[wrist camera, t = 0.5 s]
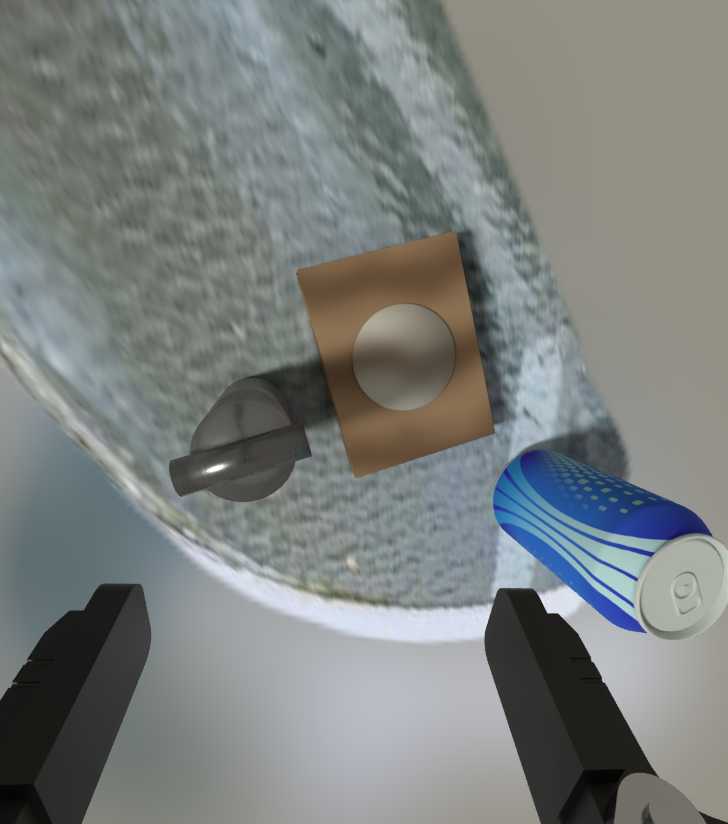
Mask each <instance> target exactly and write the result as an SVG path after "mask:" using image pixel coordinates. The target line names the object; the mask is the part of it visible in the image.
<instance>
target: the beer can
mask: <svg viewBox="0 0 728 824" xmlns="http://www.w3.org/2000/svg"><path fill="white" fill-rule="evenodd" d="M493 510H494V514H495V517H496V519H497V522H498V523H499V525H500V526H501V527H502V529H503V530H504V531H505V532H506V533H508V534H509V535H510V536H511V537H512V538H513V539H515V540H516V541H517V542H518V543H519V544H520V545H521V546H523V547H524V548H525V549H526V550H527V551H528V552H530V553H531V554H532V555H533V556H534V557H535V558H537V559H538V560H539V561H540V562H541V563H542V564H543V565H545V566H546V567H547V568H548V569H549V570H550V571H552V572H553V573H554V574H555V575H556V576H557V577H559V578H560V579H561V580H562V581H563V582H564V583H565V584H567V585H568V586H569V587H570V588H571V589H572V590H574V591H575V592H576V593H577V594H578V595H579V596H581V597H582V598H583V599H584V600H585V601H586V602H588V603H589V604H590V605H591V606H592V607H593V608H595V609H596V610H597V611H598V612H599V613H600V614H601V615H603V616H604V617H605V618H606V619H607V620H609V621H610V622H611V623H613V624H615V625H616V626H618V627H620V628H623V629H626V630H629V631H636V632H642V633H648V634H649V635H651V636H653V637H654V638H656V639H658V640H662V641H666V642H680V641H684V640H688V639H691V638H693V637H695V636H697V635H699V634H701V633H702V632H704V631H705V630H706V629H708V628H709V627H710V626H711V625H712V624H713V623H714V622H715V621H716V620H717V619H718V618H719V617H720V615H721V614H722V613H723V611H724V610H725V608H726V606H727V605H728V548H727V547H726V546H725V545H724V544H723V543H722V542H721V541H720V540H718V539H716V538H714V537H713V536H712V534H711V533H710V531H709V530H708V528H707V526H706V525H705V524H704V522H703V521H702V520H701V519H700V518H699V517H698V516H697V515H696V514H695V513H694V512H692V511H691V510H689V509H688V508H686V507H684V506H681V505H679V504H677V503H674V502H672V501H670V500H668V499H665V498H663V497H661V496H658V495H656V494H653V493H651V492H649V491H646V490H644V489H642V488H640V487H637V486H635V485H632V484H630V483H628V482H626V481H623V480H621V479H619V478H616V477H614V476H612V475H609V474H607V473H605V472H602V471H600V470H598V469H595V468H593V467H591V466H588V465H586V464H584V463H581V462H579V461H577V460H574V459H572V458H570V457H567V456H565V455H563V454H560V453H558V452H556V451H552V450H546V449H538V450H533V451H529V452H526V453H524V454H522V455H520V456H518V457H517V458H515V459H514V460H512V461H511V462H510V463H509V464H507V465H506V466H505V468H504V469H503V470H502V471H501V473H500V474H499V476H498V478H497V481H496V483H495V487H494V493H493Z"/></svg>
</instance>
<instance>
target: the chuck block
mask: <svg viewBox="0 0 728 824" xmlns="http://www.w3.org/2000/svg"><path fill="white" fill-rule="evenodd" d="M296 274H297V278H298V281H299V285H300V289H301V292H302V296H303V299H304V303H305V306H306V310H307V314H308V317H309V321H310V324H311V328H312V331H313V335H314V339H315V342H316V346H317V349H318V353H319V356H320V360H321V364H322V367H323V371H324V374H325V378H326V381H327V385H328V388H329V392H330V396H331V399H332V403H333V406H334V410H335V413H336V417H337V421H338V424H339V428H340V431H341V435H342V438H343V442H344V446H345V449H346V453H347V456H348V460H349V463H350V467H351V470H352V472H353V474H354V476H355V478H358V477H362V476H365V475H368V474H371V473H374V472H377V471H380V470H383V469H386V468H389V467H392V466H396V465H399V464H402V463H405V462H408V461H411V460H414V459H417V458H420V457H423V456H426V455H430V454H433V453H436V452H439V451H442V450H445V449H448V448H451V447H454V446H457V445H460V444H464V443H467V442H470V441H473V440H476V439H479V438H482V437H485V436H488V435H491V434H494V433H495V429H494V424H493V419H492V414H491V409H490V404H489V398H488V393H487V388H486V383H485V378H484V373H483V368H482V362H481V357H480V352H479V347H478V342H477V337H476V332H475V327H474V321H473V316H472V311H471V306H470V301H469V296H468V291H467V286H466V280H465V275H464V270H463V265H462V260H461V255H460V250H459V244H458V239H457V234H456V231H453V232H449V233H445V234H441V235H437V236H433V237H429V238H425V239H421V240H417V241H413V242H409V243H405V244H401V245H397V246H393V247H388V248H384V249H380V250H376V251H372V252H368V253H364V254H360V255H356V256H352V257H348V258H344V259H340V260H336V261H332V262H328V263H324V264H320V265H316V266H311V267H307V268H303V269H299V270H298V271H297V273H296Z"/></svg>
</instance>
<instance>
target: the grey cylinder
mask: <svg viewBox="0 0 728 824" xmlns="http://www.w3.org/2000/svg"><path fill="white" fill-rule="evenodd" d="M311 456H312V454H311V450H310V447H309V444H308V440H307V437H306V434H305V430H304V427H303V424H302V422H298V423H295V424H291V419H290V414H289V410H288V405H287V401H286V398H285V396H284V394H283V393H282V391H281V390H280V389H279V388H278V387H277V386H276V385H275V384H273V383H272V382H270V381H268V380H266V379H262V378H257V377H249V378H243V379H240V380H238V381H236V382H234V383H233V384H231V385H230V386H229V387H228V388H227V389H226V390H225V391H224V393H223V394H222V395H221V397H220V398H219V399H218V400H217V402H216V403H215V404H214V406H213V407H212V408H211V410H210V411H209V412H208V414H207V415H206V416H205V418H204V419H203V420H202V422H201V423H200V424H199V426H198V427H197V429H196V431H195V433H194V435H193V438H192V441H191V447H190V455H188V456H184V457H181V458H178V459H174V460H171V461H170V463H169V471H170V477H171V480H172V484H173V486H174V488H175V490H176V492H177V494H178V495H179V496H181V497H183V496H186V495H189V494H192V493H195V492H199V491H202V490H205V489H208V490H209V491H210V492H212V493H213V494H215V495H217V496H219V497H221V498H224V499H226V500H230V501H236V502H249V501H255V500H259V499H262V498H265V497H267V496H269V495H271V494H272V493H274V492H275V491H277V490H278V489H279V488H280V487H281V486H282V485H283V484H284V483H285V482H286V481H287V479H288V478H289V476H290V474H291V472H292V470H293V468H294V465H295V461H298V460H301V459H305V458H308V457H311Z"/></svg>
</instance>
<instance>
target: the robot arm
mask: <svg viewBox="0 0 728 824" xmlns="http://www.w3.org/2000/svg"><path fill="white" fill-rule="evenodd" d="M150 643H151V627H150V622H149V617H148V612H147V607H146V602H145V597H144V592H143V588H142V586H141V585H140V584H102V585H100V586H99V587H98V588H97V589H96V591H95V592H94V594H93V596H92V598H91V599H90V601H89V603H88V604H87V606H86V608H85V609H84V611H69V612H67V613H66V614H65V615H64V616H63V617H62V618H61V619H59V620H58V621H57V622H56V623H55V624H54V625H53V626H52V627H50V628H49V629H48V630H47V631H46V632H45V633H44V634H43V636H42V637H41V639H40V640H39V642H38V643H37V645H36V647H35V648H34V650H33V651H32V653H31V654H30V656H29V657H28V659H27V663H26V665H23V667H22V668H21V670H20V671H19V673H18V674H17V676H16V677H15V679H14V680H13V682H12V683H13V684H12V686H11V688H8V689H7V691H6V693H5V694H4V696H3V697H2V699H1V700H0V824H82V821H83V819H84V816H85V814H86V811H87V808H88V806H89V804H90V801H91V799H92V796H93V794H94V791H95V788H96V786H97V783H98V781H99V778H100V776H101V773H102V771H103V768H104V766H105V763H106V761H107V758H108V756H109V753H110V751H111V748H112V746H113V743H114V741H115V738H116V735H117V733H118V731H119V728H120V726H121V723H122V721H123V718H124V716H125V713H126V711H127V708H128V706H129V703H130V700H131V698H132V695H133V693H134V690H135V688H136V685H137V683H138V680H139V678H140V675H141V673H142V670H143V668H144V665H145V663H146V660H147V657H148V653H149V649H150ZM485 651H486V657H487V660H488V664H489V667H490V670H491V672H492V675H493V679H494V682H495V685H496V688H497V691H498V694H499V697H500V700H501V703H502V706H503V709H504V712H505V715H506V718H507V721H508V725H509V728H510V731H511V734H512V737H513V740H514V743H515V746H516V749H517V752H518V755H519V758H520V761H521V764H522V767H523V770H524V773H525V777H526V780H527V783H528V786H529V789H530V792H531V795H532V798H533V801H534V804H535V807H536V810H537V813H538V816H539V819H540V822H541V824H728V823H727V822H724V821H721V820H719V819H716V818H713V817H710V816H708V815H706V814H703V813H701V812H700V811H698V810H697V809H696V808H695V807H694V805H693V804H692V803H691V802H690V801H689V800H688V799H687V798H686V797H685V796H684V795H683V794H682V793H681V792H680V791H679V790H677V789H676V788H675V787H674V786H672V785H671V784H669V783H667V782H666V781H664V780H663V779H661V778H659V776H658V775H657V774H656V772H655V771H654V770H653V768H652V767H651V765H650V764H649V762H648V760H647V758H646V756H645V755H644V753H643V751H642V749H641V747H640V746H639V744H638V742H637V740H636V738H635V736H634V735H633V733H632V731H631V729H630V728H629V726H628V724H627V722H626V720H625V718H624V717H623V715H622V713H621V711H620V709H619V708H618V706H617V704H616V702H615V700H614V698H613V697H612V695H611V693H610V691H609V689H608V687H607V686H606V684H605V683H603V682H602V677H601V675H600V673H599V671H598V669H597V668H596V666H595V664H594V663H593V662H591V657H590V655H589V653H588V651H587V649H586V648H585V646H584V644H583V642H582V640H581V639H580V637H579V635H578V633H577V632H576V631H575V630H574V629H573V628H572V627H571V626H570V625H569V624H568V623H567V622H566V621H565V620H564V619H563V618H562V617H561V616H560V615H559V614H555V613H547V611H546V609H545V608H544V606H543V604H542V602H541V600H540V598H539V596H538V594H537V593H536V591H535V590H533V589H530V588H500V589H499V590H498V591H497V594H496V597H495V600H494V604H493V607H492V610H491V614H490V617H489V620H488V624H487V627H486V631H485Z"/></svg>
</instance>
